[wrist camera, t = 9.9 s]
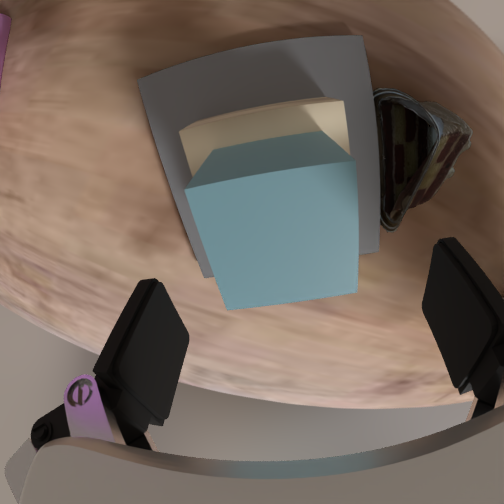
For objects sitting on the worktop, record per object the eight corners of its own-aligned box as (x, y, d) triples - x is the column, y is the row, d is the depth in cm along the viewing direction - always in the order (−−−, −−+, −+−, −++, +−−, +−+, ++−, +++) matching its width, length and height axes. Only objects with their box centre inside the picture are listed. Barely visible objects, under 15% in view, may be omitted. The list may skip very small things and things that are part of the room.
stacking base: (373, 242, 24) (396, 284, 19) (207, 268, 27) (194, 313, 22) (355, 38, 14) (388, 25, 9) (144, 79, 17) (105, 82, 12)
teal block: (332, 226, 17) (357, 292, 12) (237, 241, 18) (227, 310, 13) (322, 130, 14) (355, 160, 9) (212, 149, 14) (184, 189, 9)
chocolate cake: (435, 217, 23) (519, 166, 11) (383, 238, 22) (475, 181, 11) (393, 136, 25) (450, 61, 13) (340, 145, 24) (389, 53, 12)
